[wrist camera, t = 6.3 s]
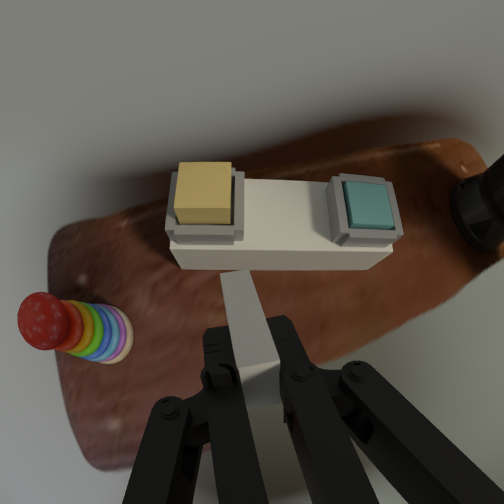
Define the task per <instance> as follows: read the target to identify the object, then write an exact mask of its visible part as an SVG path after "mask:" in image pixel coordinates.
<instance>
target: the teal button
mask: <svg viewBox="0 0 504 504" xmlns="http://www.w3.org/2000/svg"><path fill="white" fill-rule="evenodd" d="M342 189H343V195H344V201H345V207H346V214H347V220H348V228H350V229H375V230H390V229H391V228H392V227H393V226H394V221H393V216H392V211H391V207H390V202H389V198H388V193H387V189H386V185H379V184H369V183H359V182H348V181H346V182H345V184H344V186H343V187H342Z"/></svg>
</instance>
